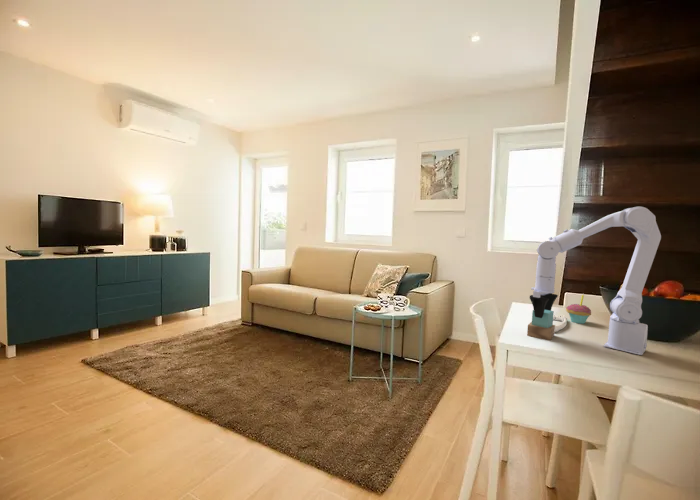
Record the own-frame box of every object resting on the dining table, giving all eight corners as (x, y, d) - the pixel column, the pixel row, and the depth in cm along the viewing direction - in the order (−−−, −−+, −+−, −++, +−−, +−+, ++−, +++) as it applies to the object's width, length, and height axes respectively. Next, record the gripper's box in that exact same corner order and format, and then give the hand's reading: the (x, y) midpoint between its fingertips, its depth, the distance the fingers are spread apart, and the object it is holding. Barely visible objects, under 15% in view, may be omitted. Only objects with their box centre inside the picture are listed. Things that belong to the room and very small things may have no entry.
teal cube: (552, 325, 119) (553, 311, 119) (547, 328, 116) (548, 313, 116) (536, 322, 123) (538, 308, 123) (531, 324, 120) (532, 310, 119)
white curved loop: (571, 322, 140) (558, 335, 122) (544, 317, 147) (527, 329, 128) (572, 315, 140) (559, 328, 121) (544, 311, 147) (528, 322, 128)
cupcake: (595, 325, 135) (598, 294, 134) (573, 324, 135) (576, 294, 134) (581, 319, 144) (583, 290, 143) (560, 318, 144) (562, 289, 143)
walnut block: (553, 336, 120) (554, 325, 120) (550, 341, 115) (551, 329, 115) (531, 331, 125) (532, 320, 125) (527, 336, 119) (527, 324, 119)
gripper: (540, 273, 126) (537, 310, 127) (524, 276, 116) (521, 316, 117) (562, 276, 121) (559, 314, 122) (547, 279, 111) (544, 321, 112)
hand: (542, 315), depth 119 cm, fingers open, 6 cm apart
